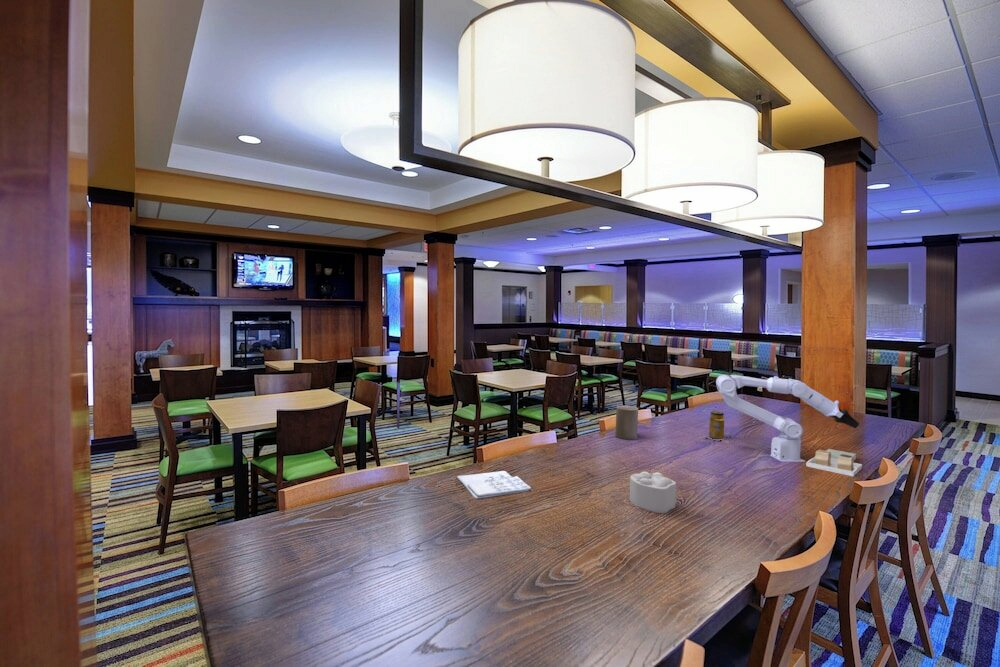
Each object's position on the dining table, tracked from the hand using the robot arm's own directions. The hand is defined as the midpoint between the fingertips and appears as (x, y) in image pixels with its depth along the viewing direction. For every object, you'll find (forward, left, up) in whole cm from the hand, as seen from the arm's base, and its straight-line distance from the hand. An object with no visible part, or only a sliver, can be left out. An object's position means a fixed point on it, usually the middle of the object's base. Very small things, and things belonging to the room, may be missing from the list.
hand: (853, 423), depth 179 cm
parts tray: (-10, -4, -16) cm, 19 cm away
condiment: (-35, +37, -16) cm, 53 cm away
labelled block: (-7, -7, -15) cm, 18 cm away
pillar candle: (-75, +39, -16) cm, 86 cm away
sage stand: (0, +6, -16) cm, 17 cm away
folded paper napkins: (-136, -20, -17) cm, 139 cm away
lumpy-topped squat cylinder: (-89, -35, -16) cm, 97 cm away
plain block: (-12, -1, -15) cm, 20 cm away
